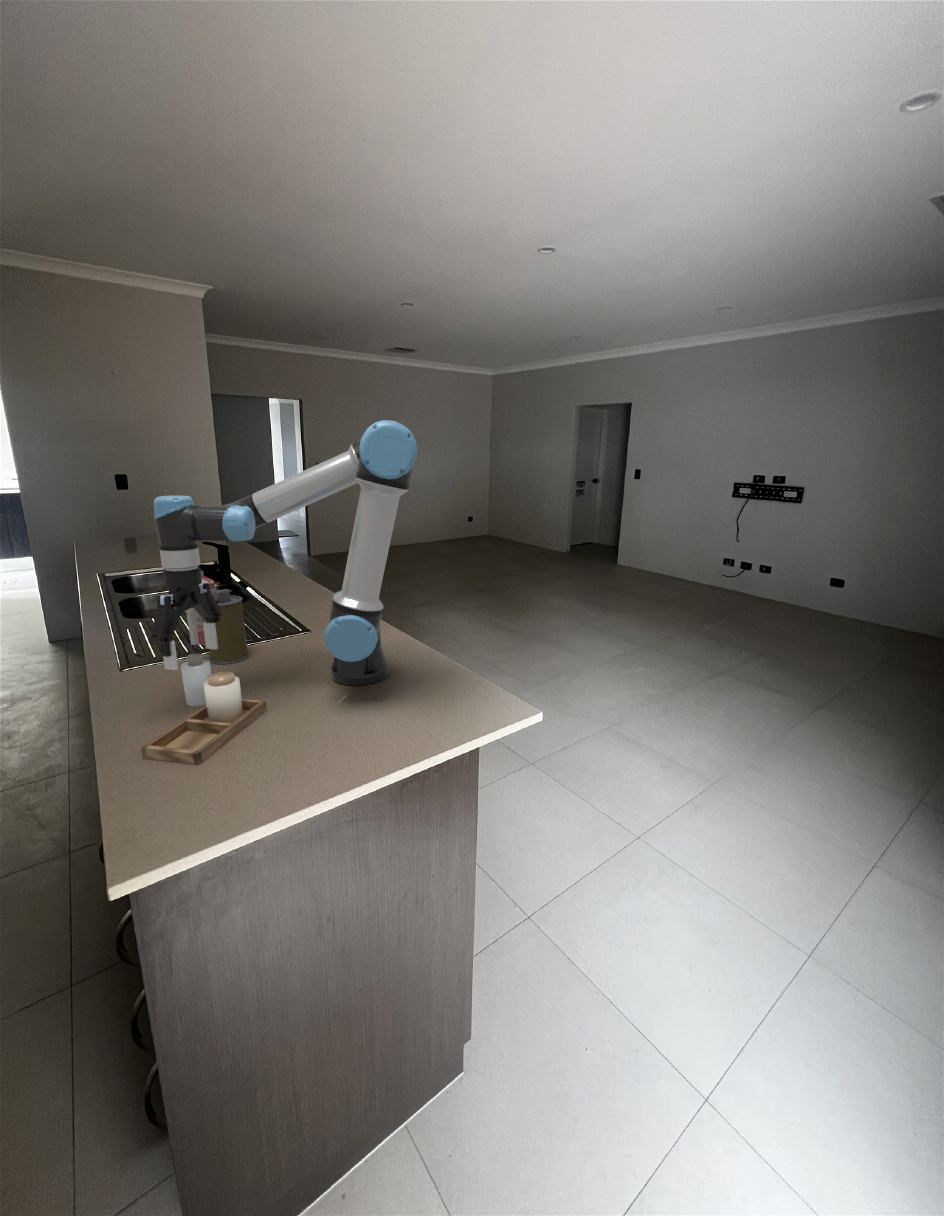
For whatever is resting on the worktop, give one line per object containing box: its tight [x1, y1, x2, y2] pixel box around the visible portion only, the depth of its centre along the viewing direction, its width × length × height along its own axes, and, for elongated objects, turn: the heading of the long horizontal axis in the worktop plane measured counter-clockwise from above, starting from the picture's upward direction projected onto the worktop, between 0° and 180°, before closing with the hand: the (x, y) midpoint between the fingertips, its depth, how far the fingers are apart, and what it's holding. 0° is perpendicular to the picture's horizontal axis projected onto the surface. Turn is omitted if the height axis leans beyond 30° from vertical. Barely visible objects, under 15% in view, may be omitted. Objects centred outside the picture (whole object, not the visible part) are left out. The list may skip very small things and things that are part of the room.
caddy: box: [140, 698, 268, 766], centre depth 112 cm, size 12×23×3 cm, turn 169°
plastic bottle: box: [180, 652, 212, 707], centre depth 125 cm, size 6×6×12 cm
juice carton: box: [185, 570, 216, 646], centre depth 167 cm, size 7×7×22 cm
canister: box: [202, 588, 250, 665], centre depth 153 cm, size 11×10×20 cm
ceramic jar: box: [203, 671, 244, 723], centre depth 116 cm, size 7×7×10 cm
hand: (192, 658), depth 124 cm, fingers open, 13 cm apart
